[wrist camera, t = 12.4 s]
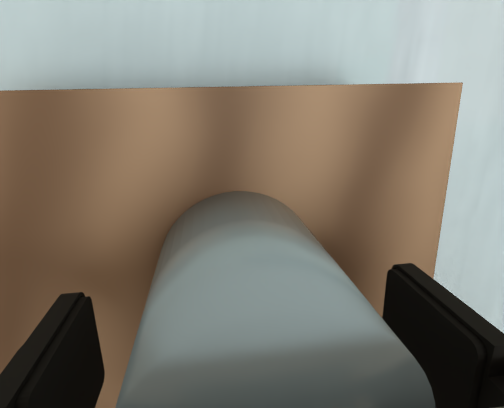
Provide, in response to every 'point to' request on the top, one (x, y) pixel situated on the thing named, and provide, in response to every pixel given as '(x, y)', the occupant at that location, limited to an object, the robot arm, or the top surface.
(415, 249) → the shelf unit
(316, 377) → the grey cylinder
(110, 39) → the top surface
